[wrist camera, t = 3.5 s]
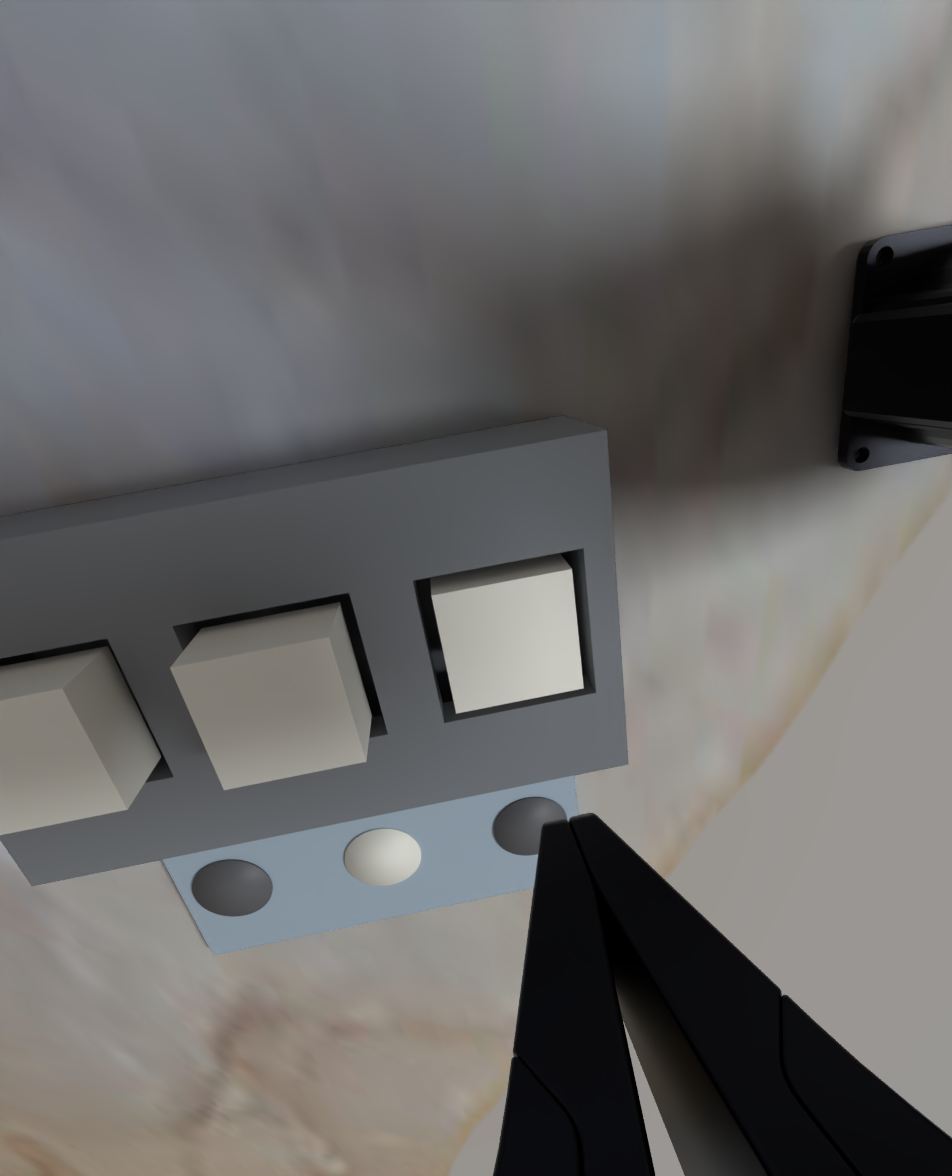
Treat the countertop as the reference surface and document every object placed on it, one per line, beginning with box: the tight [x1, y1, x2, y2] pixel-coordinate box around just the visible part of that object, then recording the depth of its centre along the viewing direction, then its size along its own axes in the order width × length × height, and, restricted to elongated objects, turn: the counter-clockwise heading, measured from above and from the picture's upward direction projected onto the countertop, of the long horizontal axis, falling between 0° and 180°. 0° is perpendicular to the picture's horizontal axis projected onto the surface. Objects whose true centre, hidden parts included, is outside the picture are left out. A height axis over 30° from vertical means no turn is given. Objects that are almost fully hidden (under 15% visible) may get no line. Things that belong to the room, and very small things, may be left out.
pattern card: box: [163, 776, 579, 955], centre depth 22 cm, size 16×7×1 cm, turn 99°
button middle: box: [170, 602, 372, 790], centre depth 14 cm, size 4×4×2 cm
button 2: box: [430, 553, 584, 714], centre depth 15 cm, size 4×4×2 cm
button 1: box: [0, 646, 162, 835], centre depth 14 cm, size 4×4×2 cm
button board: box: [0, 415, 628, 886], centre depth 16 cm, size 18×10×4 cm, turn 99°
